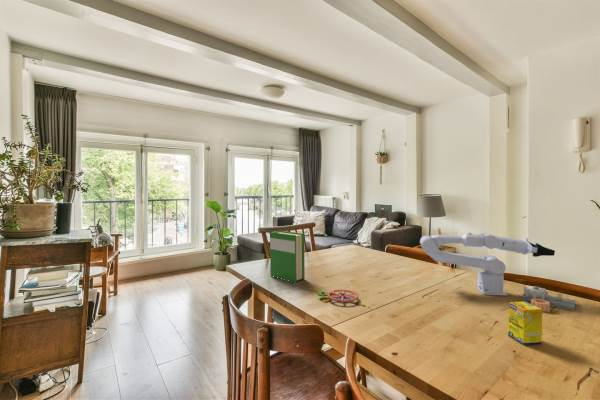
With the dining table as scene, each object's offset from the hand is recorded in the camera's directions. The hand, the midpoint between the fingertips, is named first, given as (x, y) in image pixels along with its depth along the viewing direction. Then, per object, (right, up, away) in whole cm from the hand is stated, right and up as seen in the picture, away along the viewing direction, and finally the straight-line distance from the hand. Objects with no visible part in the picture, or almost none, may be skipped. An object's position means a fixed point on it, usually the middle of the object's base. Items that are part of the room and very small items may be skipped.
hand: (549, 251), depth 124 cm
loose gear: (-13, -20, -11) cm, 26 cm away
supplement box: (-37, -21, -34) cm, 54 cm away
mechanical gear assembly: (-91, -21, +3) cm, 93 cm away
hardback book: (-113, -20, +31) cm, 118 cm away
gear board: (-4, -20, -4) cm, 21 cm away
